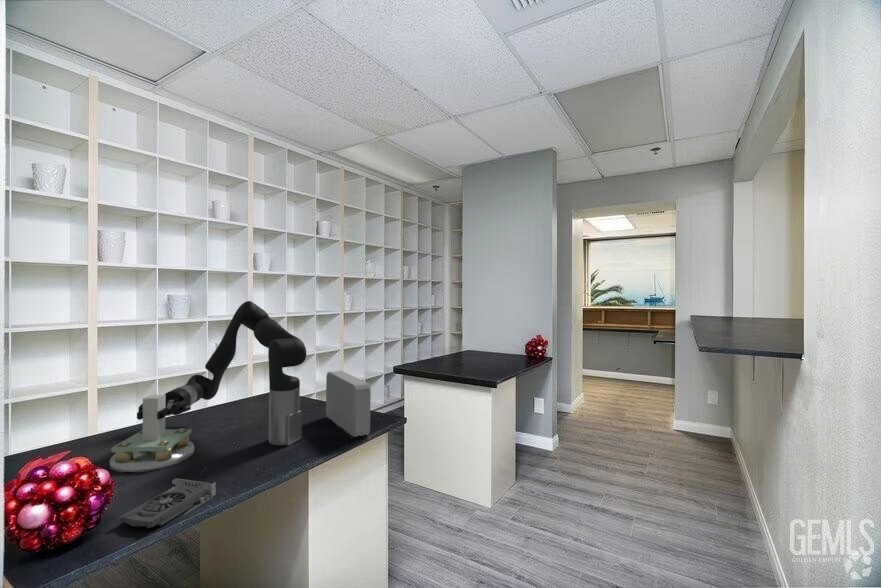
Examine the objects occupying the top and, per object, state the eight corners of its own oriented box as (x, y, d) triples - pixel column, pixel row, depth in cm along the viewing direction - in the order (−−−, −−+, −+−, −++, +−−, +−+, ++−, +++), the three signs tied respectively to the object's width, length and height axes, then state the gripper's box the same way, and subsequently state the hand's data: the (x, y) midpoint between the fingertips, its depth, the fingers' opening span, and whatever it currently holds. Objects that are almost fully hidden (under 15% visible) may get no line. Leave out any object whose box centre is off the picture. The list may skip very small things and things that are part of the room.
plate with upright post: (191, 432, 126) (191, 390, 126) (166, 450, 113) (167, 403, 112) (142, 433, 125) (142, 390, 125) (111, 452, 111) (111, 403, 111)
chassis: (205, 443, 130) (206, 422, 130) (172, 471, 110) (173, 447, 110) (137, 445, 127) (137, 424, 127) (91, 474, 107) (91, 449, 107)
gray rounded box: (376, 436, 139) (377, 383, 139) (355, 440, 135) (356, 386, 134) (344, 414, 162) (345, 368, 162) (325, 417, 158) (326, 370, 158)
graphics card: (176, 476, 101) (216, 481, 98) (176, 491, 101) (217, 496, 98) (105, 512, 85) (152, 520, 82) (106, 530, 85) (152, 538, 82)
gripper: (155, 388, 132) (121, 403, 115) (203, 387, 133) (175, 402, 117) (155, 411, 132) (121, 429, 115) (202, 410, 134) (175, 428, 117)
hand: (149, 415), depth 116 cm, fingers open, 4 cm apart
